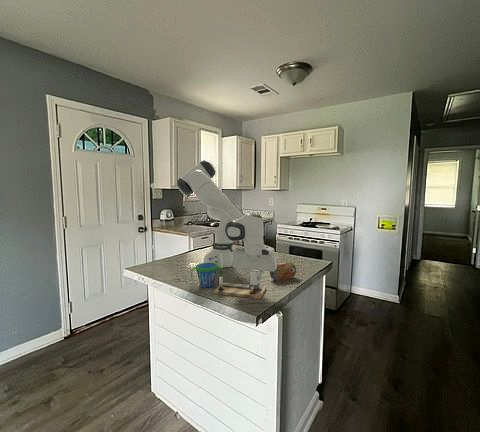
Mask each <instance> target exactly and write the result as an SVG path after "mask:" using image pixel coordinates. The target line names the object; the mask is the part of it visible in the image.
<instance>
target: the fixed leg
mask: <svg viewBox="0 0 480 432" xmlns="http://www.w3.org/2000/svg"><path fill="white" fill-rule="evenodd" d="M223 277H224V276H223ZM223 277H221V276H219V277H218V286H219V290H223V282H224V280H223V279H224V278H223Z"/></svg>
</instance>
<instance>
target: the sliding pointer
mask: <svg viewBox="0 0 480 432" xmlns="http://www.w3.org/2000/svg"><path fill="white" fill-rule="evenodd" d="M249 271H250V272H249V273H250V279H249V280H250V281H249V282H250V283H249V284H248V285H249V288H251V293H252V292H253V289H258V288H259V287H260V286H261V282H259V280H257V276H258V275H259V270H249Z"/></svg>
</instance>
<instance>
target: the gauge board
mask: <svg viewBox="0 0 480 432" xmlns="http://www.w3.org/2000/svg"><path fill="white" fill-rule="evenodd" d="M266 290H267V286H264V285H260V287H259V288H258V289H253V292H252V293H251V288H249V284H245V283H243V284H241V283H233V282H232V283H231V282H224V281H223V290H219V285H218V286H216V287H215V289H213V290H212V294H213V293H214V294H215V295H222V294H223V295H222V296H232V297H241V298H249V299H256V300H257V299H258V300H260V299H261V298H262V296H263V295H264V293H265V291H266Z"/></svg>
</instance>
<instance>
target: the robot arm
mask: <svg viewBox="0 0 480 432" xmlns="http://www.w3.org/2000/svg"><path fill="white" fill-rule="evenodd" d="M215 169H216V168H215V166H214V164H213V163H211V162H210V161H208V160H207V159H203V160H200V161H199V163H197V164H195V165H193V166H192V167H191V168H189V170H188V171H187V172H185V173H184V174H183V175H181V176H180V177H179V178H178V180H177V181H176V185H177V188H178V190H179V192H180V193H182V194H184V195H185V196H190V195H192V194H194V195H195V197H197V199H198V201H200V203H202V204H203V206H206V214H207V216H208V218H210V219H213V220H215V221H219V226H218V227H217V228H216V229H215V230H214V238H215V239H214V242H213V243H212V244H211V247H212V248H211V249H210V250H209V251H207V253H205V254H204V257H203V260H202V261H201V262H200V263H199V264H201V263H216V264H217V265H219V266H220V267H221V268H222V269H223V268H231V267H232V268H233V269H238V270H244V272H245V274H246V276H247V279H248V280H250V272H249V271H251V270H258V276H257V280H258V281H261V280H262V275H263V273H264V272H270V271H272V272H274V271H275V270H276V269H277V264H278V263H277V262H278V261H277V257H276V254H275V248H274V247H271V246H269V245H266V244H265V241H264V234H265V231H264V228H265V227H264V219H263V216H262V215H261V214H259V213H255V212H247V213H245V214H244V212H243V211H242V209H241V207H240V206H239V205H238V204H235V203H234V202H233V200H232V199H230V198H229V197H228V196H227V195H226V194H225V193H224V192H223V191H222V190H221V189H220V188H219V186H218V185H217V184H216V183H215V181H213V178H214V177H215V176H216V170H215ZM238 241H243V243H244V244H243V245H244V248H241V247H240V248H238V247H237V248H236V247H235V243H234V242H238ZM234 247H235V248H234ZM221 268H219V267H218V268H217V269H221Z"/></svg>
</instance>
